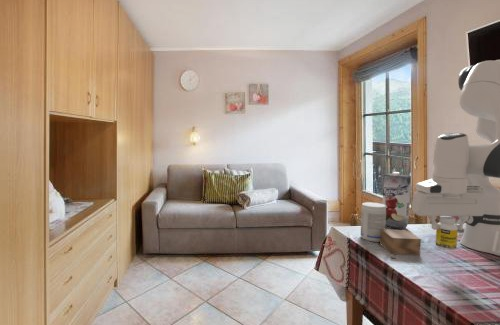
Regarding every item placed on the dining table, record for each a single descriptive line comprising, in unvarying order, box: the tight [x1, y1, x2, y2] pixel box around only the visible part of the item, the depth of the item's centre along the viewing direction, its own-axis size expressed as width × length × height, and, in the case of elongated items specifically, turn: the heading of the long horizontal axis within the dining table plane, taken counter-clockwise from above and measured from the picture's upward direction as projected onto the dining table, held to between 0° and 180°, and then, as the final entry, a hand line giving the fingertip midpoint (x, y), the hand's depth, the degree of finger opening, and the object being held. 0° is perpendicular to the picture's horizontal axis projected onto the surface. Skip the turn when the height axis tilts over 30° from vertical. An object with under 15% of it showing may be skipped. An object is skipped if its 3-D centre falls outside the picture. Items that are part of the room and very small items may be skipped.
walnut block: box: [380, 228, 422, 256], centre depth 105 cm, size 10×10×6 cm
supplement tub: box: [360, 201, 386, 243], centre depth 115 cm, size 10×10×15 cm
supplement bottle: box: [435, 216, 459, 251], centre depth 86 cm, size 5×5×10 cm
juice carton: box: [382, 171, 412, 230], centre depth 131 cm, size 9×10×27 cm
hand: (446, 229), depth 86 cm, fingers closed on supplement bottle, 5 cm apart
